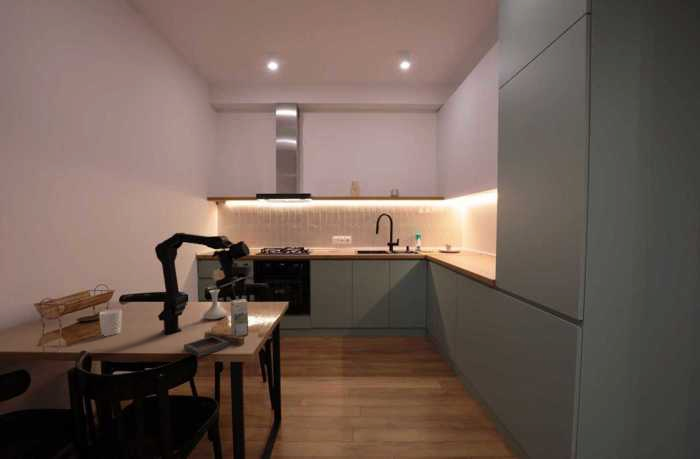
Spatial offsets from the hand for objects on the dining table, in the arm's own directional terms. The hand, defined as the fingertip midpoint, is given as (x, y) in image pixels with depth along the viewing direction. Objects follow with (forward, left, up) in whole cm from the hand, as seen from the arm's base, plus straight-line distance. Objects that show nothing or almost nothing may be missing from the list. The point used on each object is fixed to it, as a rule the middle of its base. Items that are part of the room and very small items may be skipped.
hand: (239, 297), depth 132 cm
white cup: (-43, -39, -15) cm, 60 cm away
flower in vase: (-30, +2, -15) cm, 34 cm away
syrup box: (+3, -2, -15) cm, 16 cm away
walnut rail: (+5, -10, -15) cm, 19 cm away
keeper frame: (+7, -17, -15) cm, 24 cm away
